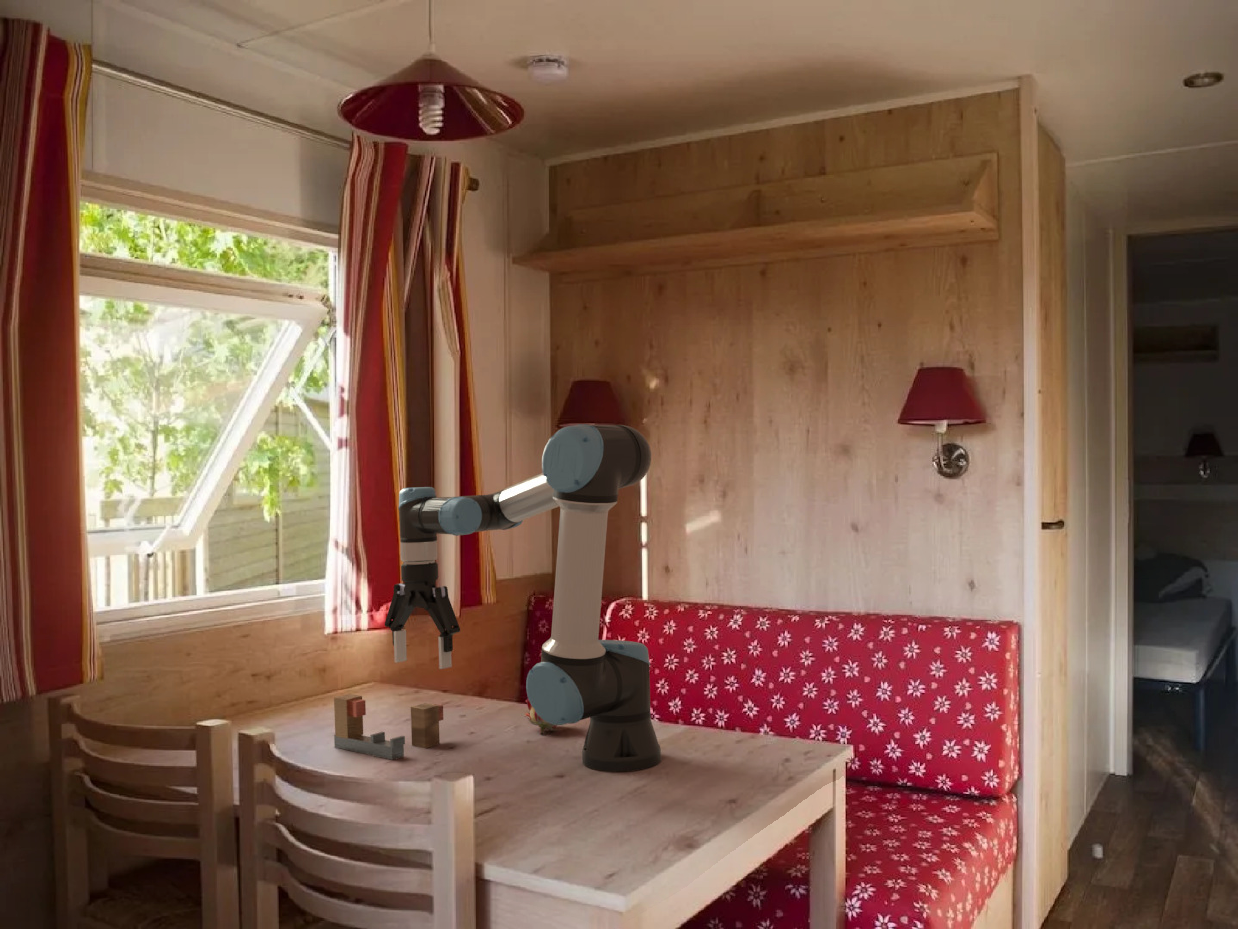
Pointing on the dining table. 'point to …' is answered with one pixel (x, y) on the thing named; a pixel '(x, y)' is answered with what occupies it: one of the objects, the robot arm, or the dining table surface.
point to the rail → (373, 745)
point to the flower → (538, 719)
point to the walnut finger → (426, 724)
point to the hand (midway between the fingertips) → (422, 664)
